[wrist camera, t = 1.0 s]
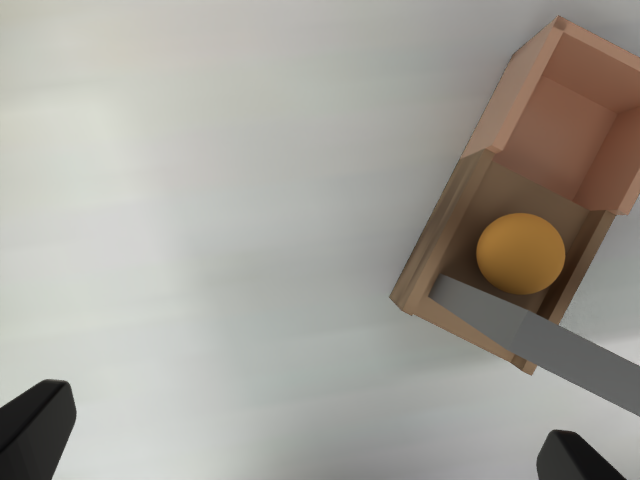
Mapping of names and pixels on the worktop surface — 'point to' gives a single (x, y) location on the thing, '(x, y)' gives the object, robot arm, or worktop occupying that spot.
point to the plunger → (543, 342)
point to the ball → (520, 253)
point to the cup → (568, 118)
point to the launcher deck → (463, 235)
